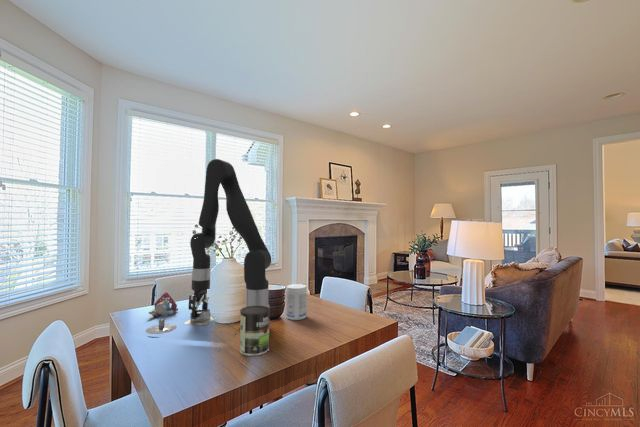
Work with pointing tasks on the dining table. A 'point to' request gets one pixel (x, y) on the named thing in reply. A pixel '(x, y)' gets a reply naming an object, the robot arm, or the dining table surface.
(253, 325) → the coffee can
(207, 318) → the square socket block
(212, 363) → the dining table surface
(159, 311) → the brake caliper
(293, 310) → the supplement tub
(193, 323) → the stand
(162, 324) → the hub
